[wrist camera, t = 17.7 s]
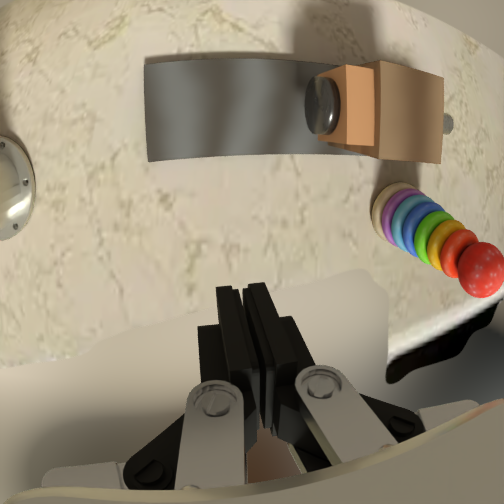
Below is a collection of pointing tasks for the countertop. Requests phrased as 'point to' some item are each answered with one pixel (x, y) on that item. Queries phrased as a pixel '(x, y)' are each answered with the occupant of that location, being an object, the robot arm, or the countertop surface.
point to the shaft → (333, 107)
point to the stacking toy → (437, 239)
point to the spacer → (353, 106)
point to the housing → (281, 110)
